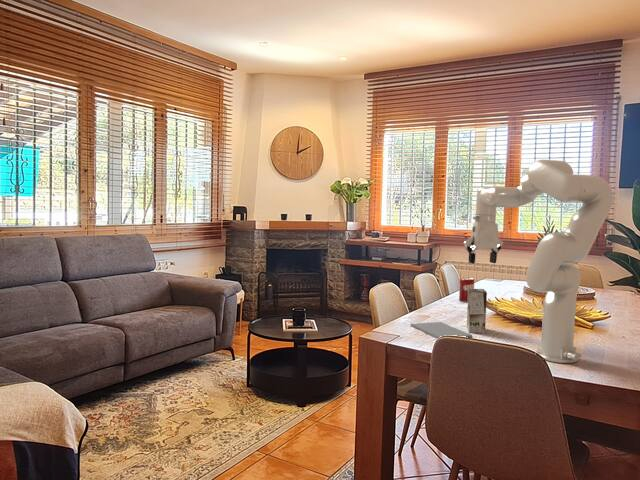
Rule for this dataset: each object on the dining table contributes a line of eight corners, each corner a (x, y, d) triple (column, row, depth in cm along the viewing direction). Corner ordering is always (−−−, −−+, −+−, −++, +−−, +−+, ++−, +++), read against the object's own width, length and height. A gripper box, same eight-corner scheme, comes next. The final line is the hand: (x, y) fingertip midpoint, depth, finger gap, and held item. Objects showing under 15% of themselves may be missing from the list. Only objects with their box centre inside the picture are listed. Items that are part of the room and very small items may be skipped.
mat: (472, 337, 188) (472, 335, 187) (439, 339, 183) (439, 337, 183) (440, 323, 208) (440, 321, 208) (410, 325, 204) (410, 323, 204)
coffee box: (485, 333, 193) (487, 292, 192) (468, 332, 195) (469, 291, 194) (482, 328, 202) (484, 288, 201) (466, 327, 204) (467, 287, 203)
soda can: (456, 300, 261) (457, 277, 260) (468, 299, 263) (469, 277, 262) (464, 303, 254) (465, 279, 253) (476, 302, 256) (477, 279, 256)
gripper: (471, 219, 187) (468, 264, 189) (510, 220, 193) (507, 264, 194) (460, 218, 194) (457, 261, 196) (497, 218, 200) (494, 261, 202)
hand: (482, 262), depth 195 cm, fingers open, 9 cm apart
